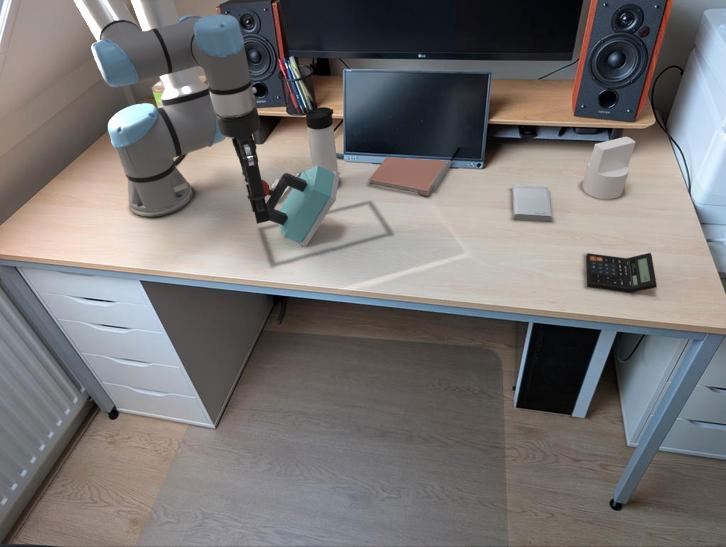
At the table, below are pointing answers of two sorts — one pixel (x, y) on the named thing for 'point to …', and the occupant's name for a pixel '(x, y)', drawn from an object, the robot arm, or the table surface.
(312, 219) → the iron
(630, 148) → the cylinder with rectangular tab
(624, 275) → the calculator
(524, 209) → the hard drive
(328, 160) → the travel mug
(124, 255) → the table surface
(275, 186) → the picture light
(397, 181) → the notebook
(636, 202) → the table surface
